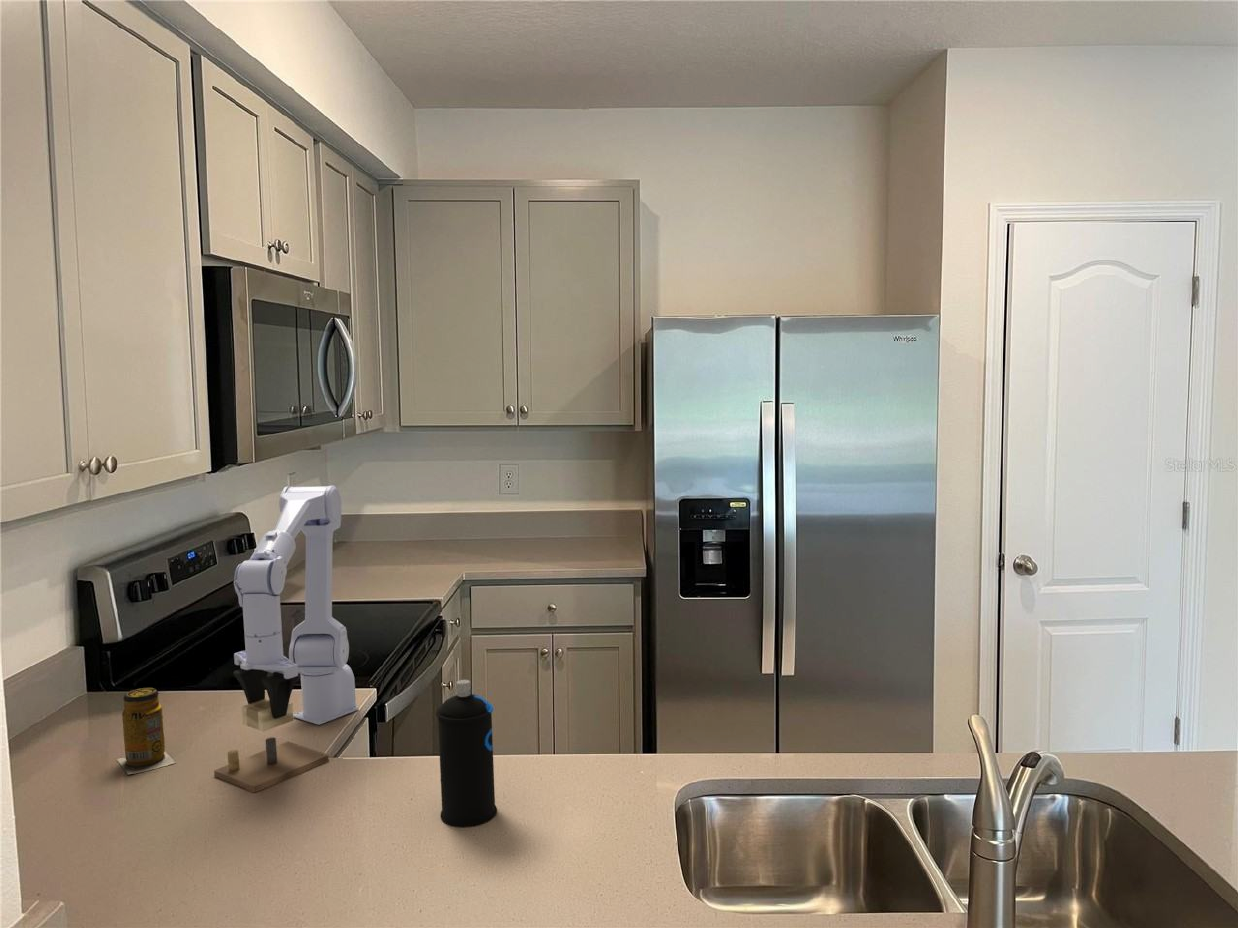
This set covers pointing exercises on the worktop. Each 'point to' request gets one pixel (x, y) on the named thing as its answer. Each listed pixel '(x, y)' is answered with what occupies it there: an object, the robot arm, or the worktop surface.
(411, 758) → the worktop surface
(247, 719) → the ring
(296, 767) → the post board
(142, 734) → the condiment
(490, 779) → the aerosol can
